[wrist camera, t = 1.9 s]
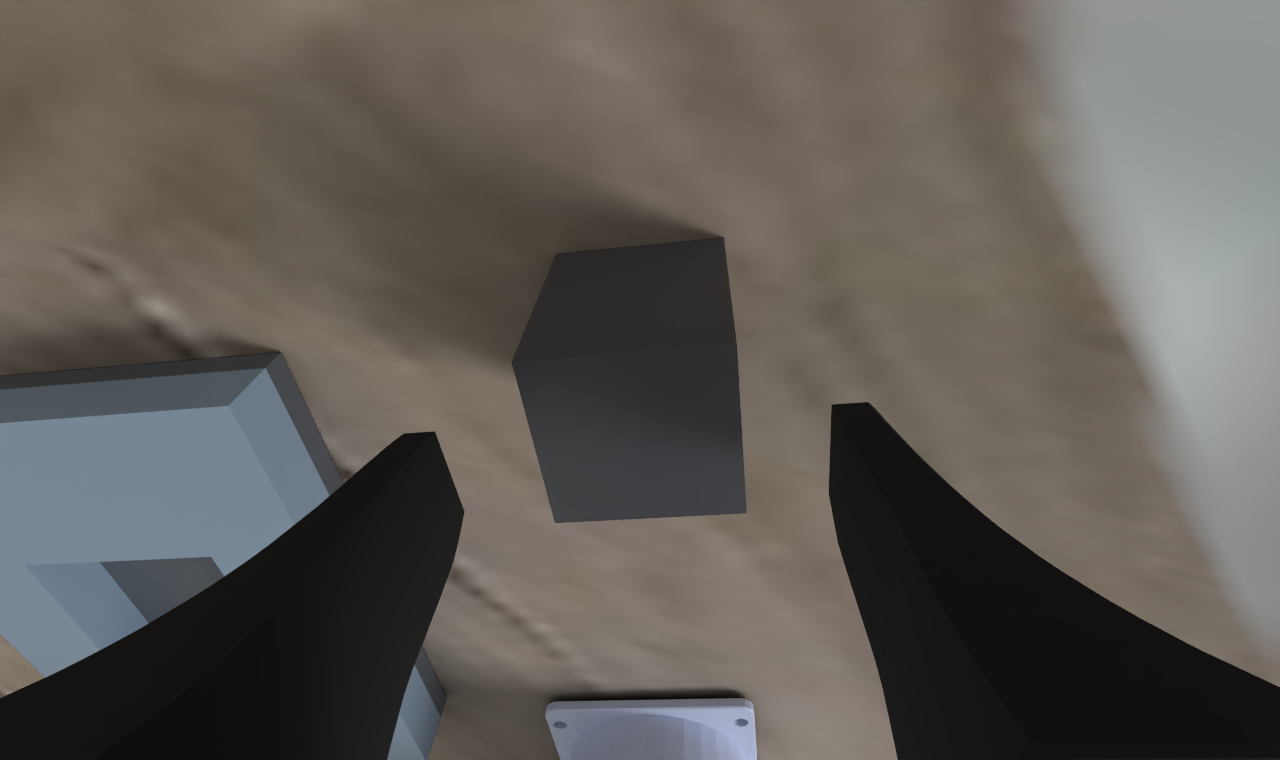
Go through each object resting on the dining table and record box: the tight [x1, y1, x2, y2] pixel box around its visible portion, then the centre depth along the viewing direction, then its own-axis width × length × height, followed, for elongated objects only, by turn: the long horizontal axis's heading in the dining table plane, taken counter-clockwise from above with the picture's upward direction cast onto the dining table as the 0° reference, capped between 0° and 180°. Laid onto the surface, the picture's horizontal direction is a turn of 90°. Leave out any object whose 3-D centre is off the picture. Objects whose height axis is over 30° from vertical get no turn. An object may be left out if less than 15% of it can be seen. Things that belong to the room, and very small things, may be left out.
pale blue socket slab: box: [0, 352, 447, 760], centre depth 22 cm, size 16×12×2 cm
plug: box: [512, 237, 746, 523], centre depth 15 cm, size 4×4×5 cm
